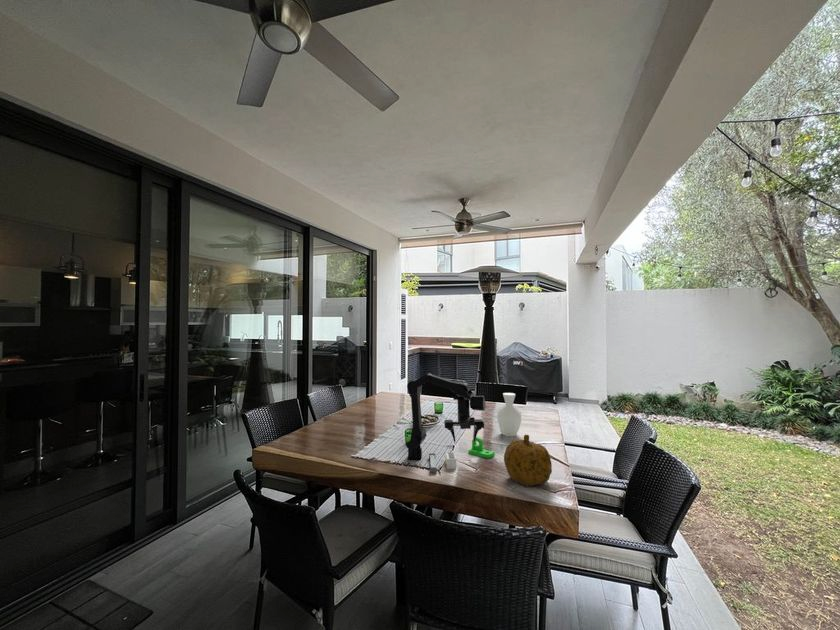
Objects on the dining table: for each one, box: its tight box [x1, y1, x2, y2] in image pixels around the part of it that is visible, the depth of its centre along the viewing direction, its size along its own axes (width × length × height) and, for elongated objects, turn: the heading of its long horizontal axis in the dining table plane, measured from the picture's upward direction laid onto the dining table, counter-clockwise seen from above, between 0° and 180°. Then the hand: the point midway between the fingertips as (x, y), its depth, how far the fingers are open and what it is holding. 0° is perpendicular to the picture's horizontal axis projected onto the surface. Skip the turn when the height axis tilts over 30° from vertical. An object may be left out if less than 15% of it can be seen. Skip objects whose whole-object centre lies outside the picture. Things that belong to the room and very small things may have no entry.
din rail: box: [428, 452, 438, 475], centre depth 169 cm, size 3×18×3 cm, turn 0°
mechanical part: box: [467, 436, 495, 459], centre depth 185 cm, size 12×6×8 cm, turn 53°
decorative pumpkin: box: [503, 434, 553, 487], centre depth 154 cm, size 20×21×20 cm
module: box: [444, 452, 457, 470], centre depth 170 cm, size 5×8×5 cm, turn 1°
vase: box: [496, 392, 522, 437], centre depth 218 cm, size 14×14×25 cm
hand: (464, 441), depth 170 cm, fingers open, 9 cm apart
